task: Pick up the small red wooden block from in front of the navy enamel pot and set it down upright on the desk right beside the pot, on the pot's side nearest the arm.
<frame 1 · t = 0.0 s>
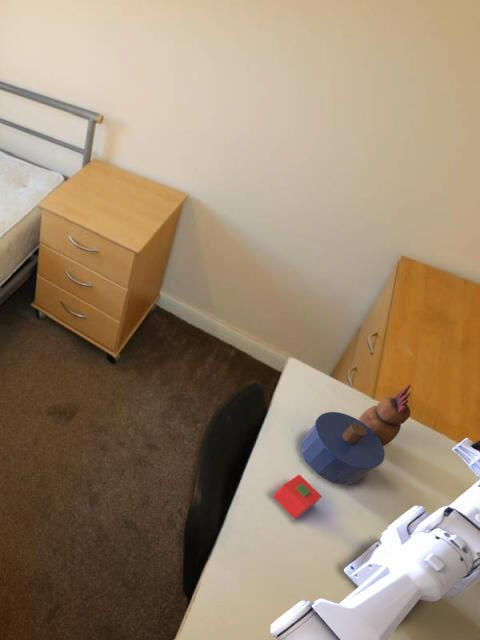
block: (291, 501, 91), on the table
wooden figurine: (365, 438, 101), on the table
pot: (330, 458, 98), on the table
pot lid: (348, 440, 93), point 6 cm above the table, touching pot
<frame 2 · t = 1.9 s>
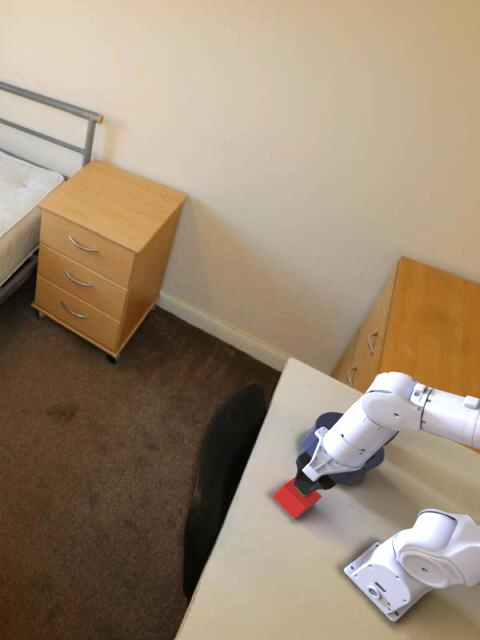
hand: (314, 478, 85), 9 cm above the table, tool pointing down, fingers open, 7 cm apart
nothing on the table moved.
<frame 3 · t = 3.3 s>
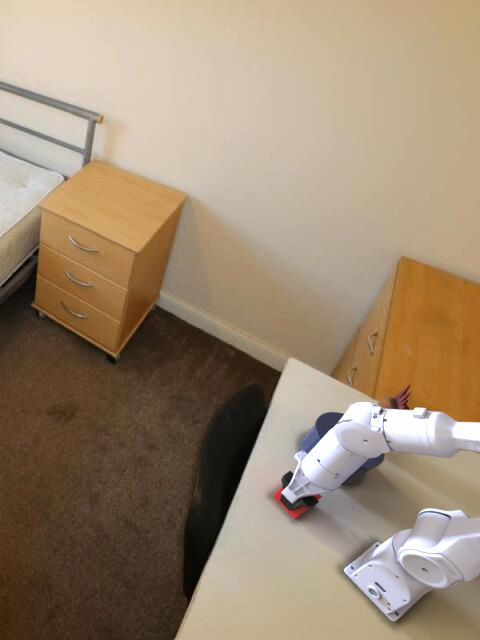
hand: (295, 498, 90), 1 cm above the table, tool pointing down, fingers closed on block, 4 cm apart
block: (291, 501, 91), on the table, touching gripper
everything else where it was.
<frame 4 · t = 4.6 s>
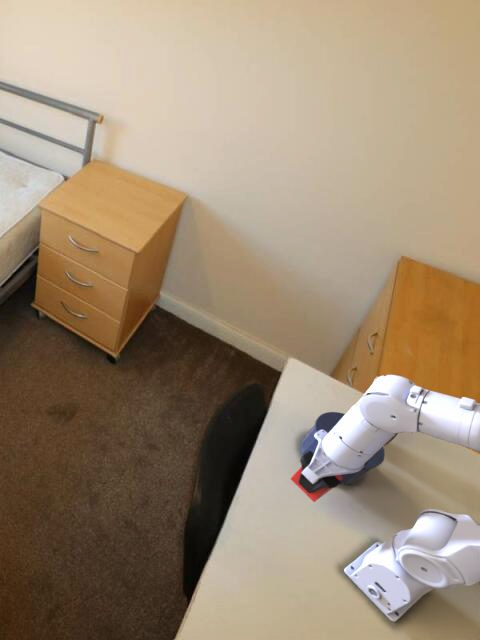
hand: (314, 480, 86), 8 cm above the table, tool pointing down, fingers closed on block, 4 cm apart
block: (310, 484, 87), point 6 cm above the table, touching gripper
everything else where it was.
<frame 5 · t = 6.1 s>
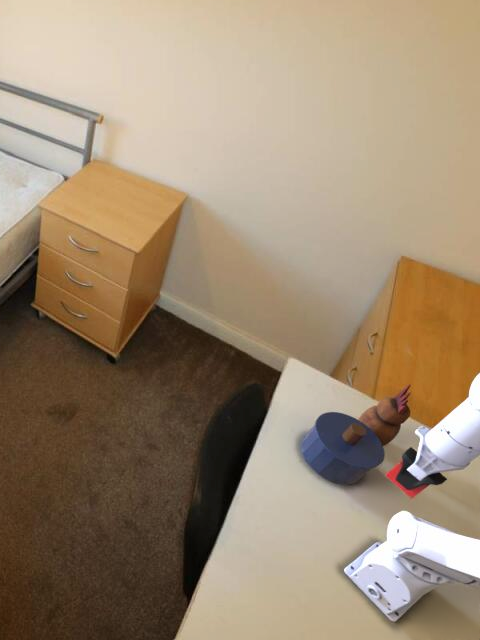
hand: (411, 477, 85), 9 cm above the table, tool pointing down, fingers closed on block, 4 cm apart
block: (405, 480, 86), point 8 cm above the table, touching gripper
everything else where it was.
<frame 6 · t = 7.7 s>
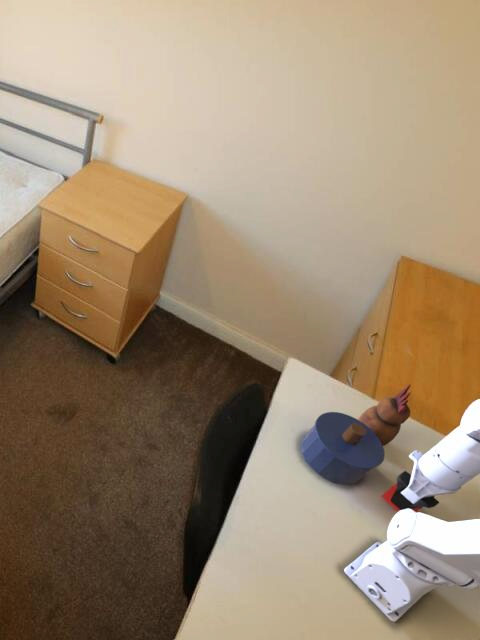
hand: (405, 498, 89), 3 cm above the table, tool pointing down, fingers closed on block, 4 cm apart
block: (400, 501, 90), point 2 cm above the table, touching gripper
everything else where it was.
when the fingers open (1 cm above the table, at t = 8.7 s): block stays where it is, on the table.
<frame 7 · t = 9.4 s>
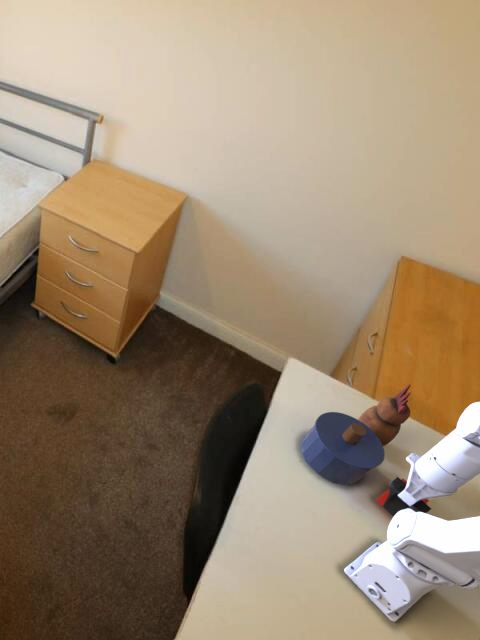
hand: (402, 500, 90), 2 cm above the table, tool pointing down, fingers open, 7 cm apart
block: (394, 505, 91), on the table
everything else where it was.
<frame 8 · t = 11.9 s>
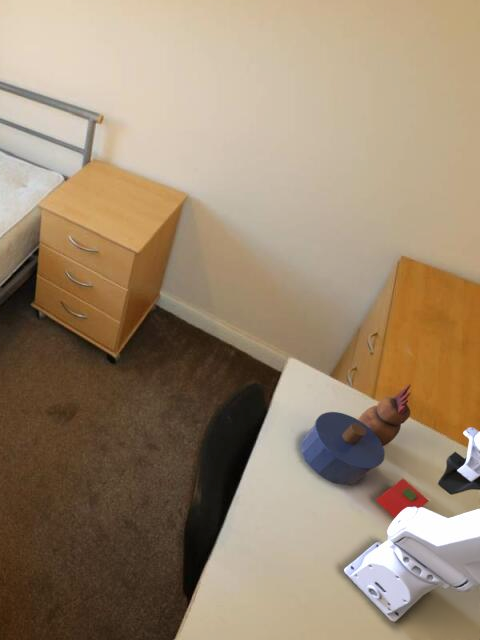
hand: (457, 478, 85), 9 cm above the table, tool pointing down, fingers open, 7 cm apart
nothing on the table moved.
at the end: block inside the target area on the table beside the pot (0.6 cm from its centre), on the table; block 11.1 cm from the pot (horizontally); block tilted 0° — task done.
